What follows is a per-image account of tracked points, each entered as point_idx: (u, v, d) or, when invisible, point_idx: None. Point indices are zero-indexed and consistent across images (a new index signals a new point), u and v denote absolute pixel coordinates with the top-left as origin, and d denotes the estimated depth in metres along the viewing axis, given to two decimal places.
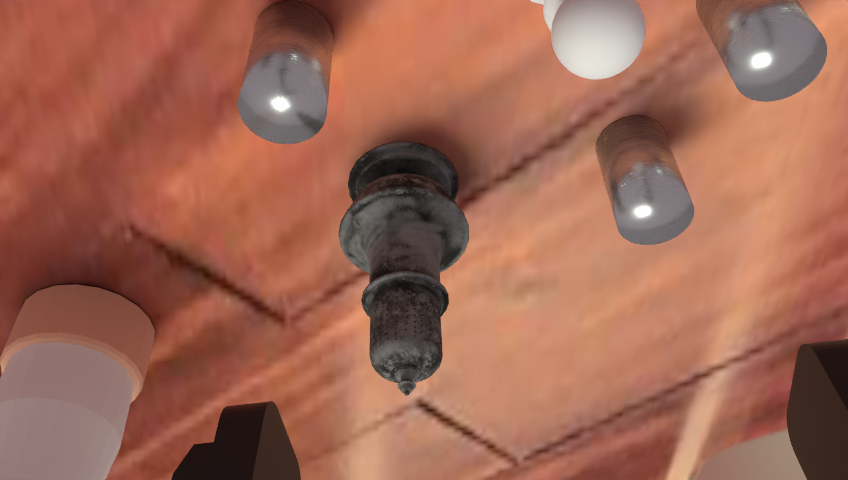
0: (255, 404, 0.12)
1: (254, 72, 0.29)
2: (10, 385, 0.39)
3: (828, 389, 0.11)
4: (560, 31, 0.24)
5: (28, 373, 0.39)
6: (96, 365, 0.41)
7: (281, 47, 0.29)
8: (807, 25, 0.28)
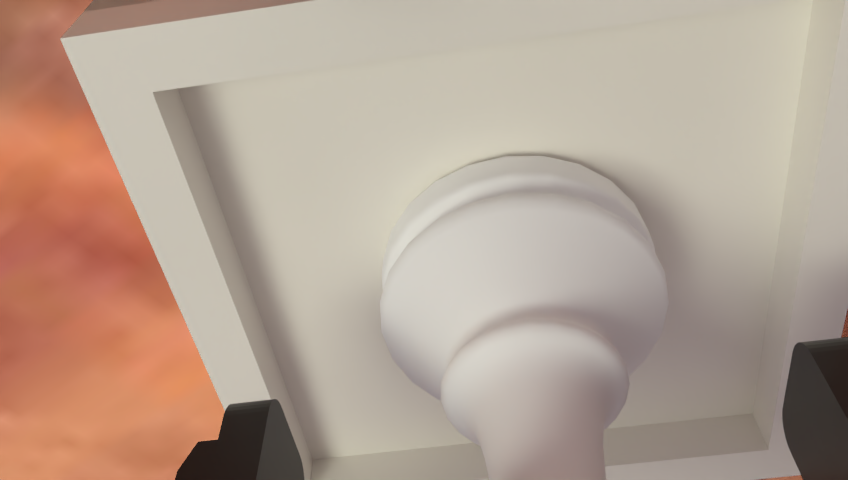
0: (259, 402, 0.12)
1: None
2: None
3: (822, 387, 0.11)
4: None
5: None
6: None
7: None
8: None
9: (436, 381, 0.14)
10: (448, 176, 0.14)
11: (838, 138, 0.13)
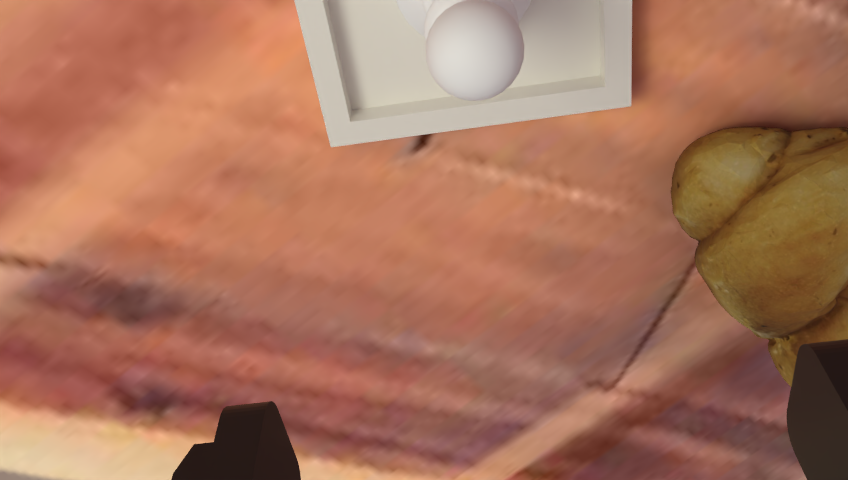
0: (255, 404, 0.12)
1: None
2: None
3: (828, 389, 0.11)
4: (464, 14, 0.22)
5: None
6: None
7: None
8: None
9: (420, 7, 0.28)
10: None
11: None
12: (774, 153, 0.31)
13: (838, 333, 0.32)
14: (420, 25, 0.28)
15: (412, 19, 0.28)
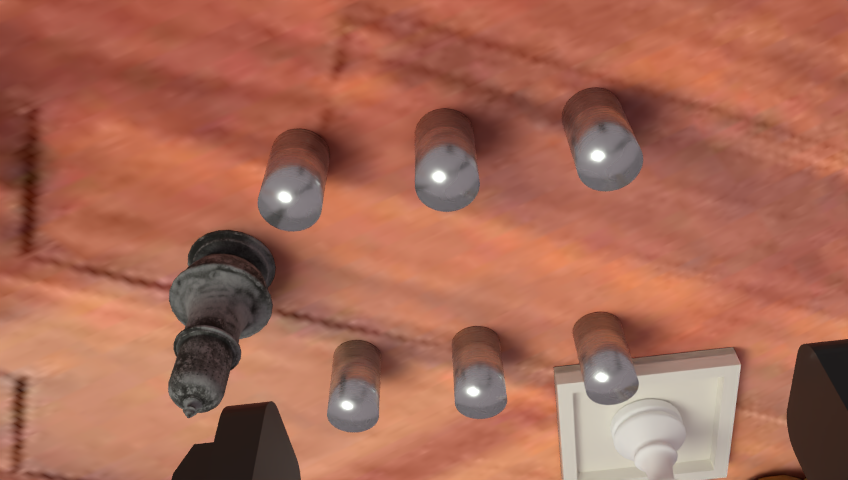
0: (255, 404, 0.12)
1: (302, 177, 0.40)
2: None
3: (828, 389, 0.11)
4: None
5: None
6: None
7: (319, 175, 0.41)
8: (506, 397, 0.49)
9: (629, 455, 0.56)
10: (630, 404, 0.56)
11: (725, 400, 0.55)
12: None
13: None
14: (626, 457, 0.57)
15: (622, 454, 0.57)
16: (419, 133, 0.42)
